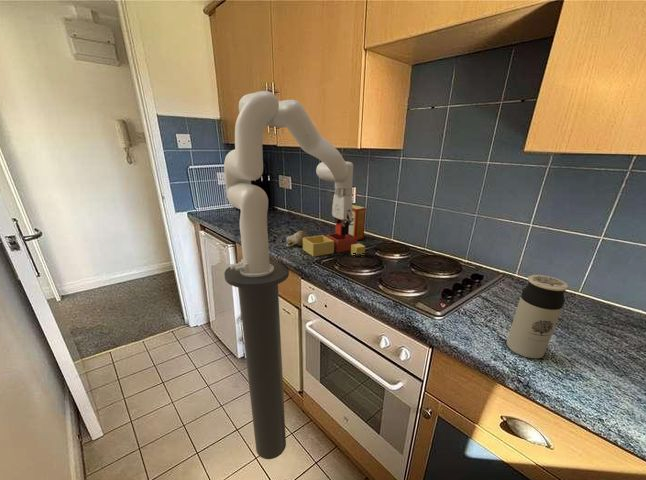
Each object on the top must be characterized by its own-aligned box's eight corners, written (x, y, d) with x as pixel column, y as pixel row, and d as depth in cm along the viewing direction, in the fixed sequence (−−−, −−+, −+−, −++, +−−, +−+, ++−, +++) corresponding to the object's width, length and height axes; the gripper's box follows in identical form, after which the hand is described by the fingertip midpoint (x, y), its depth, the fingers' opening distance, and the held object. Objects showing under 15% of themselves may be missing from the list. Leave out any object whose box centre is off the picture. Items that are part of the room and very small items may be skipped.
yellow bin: (313, 256, 127) (313, 244, 125) (302, 249, 135) (302, 237, 133) (333, 253, 132) (334, 241, 130) (322, 246, 140) (322, 235, 138)
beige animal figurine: (288, 241, 145) (299, 224, 142) (303, 253, 143) (314, 236, 140) (280, 242, 139) (291, 224, 135) (296, 254, 136) (307, 236, 133)
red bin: (337, 252, 133) (337, 240, 131) (326, 245, 141) (326, 234, 139) (356, 249, 138) (357, 237, 136) (344, 243, 146) (344, 232, 144)
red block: (340, 235, 134) (340, 225, 132) (335, 232, 137) (335, 223, 136) (348, 234, 136) (349, 224, 134) (343, 231, 140) (343, 222, 138)
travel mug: (504, 335, 78) (524, 271, 70) (540, 343, 75) (564, 278, 68) (507, 353, 71) (530, 285, 64) (547, 363, 68) (575, 292, 61)
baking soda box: (341, 236, 156) (342, 205, 149) (350, 234, 160) (351, 204, 153) (355, 240, 150) (357, 208, 143) (363, 238, 154) (365, 207, 147)
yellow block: (356, 257, 128) (357, 247, 126) (350, 254, 131) (351, 244, 129) (364, 255, 130) (365, 246, 128) (358, 252, 133) (359, 243, 132)
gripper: (326, 189, 134) (325, 229, 142) (346, 195, 121) (345, 239, 128) (340, 189, 138) (339, 227, 145) (361, 194, 125) (359, 237, 132)
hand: (341, 232), depth 137 cm, fingers closed on red block, 4 cm apart
